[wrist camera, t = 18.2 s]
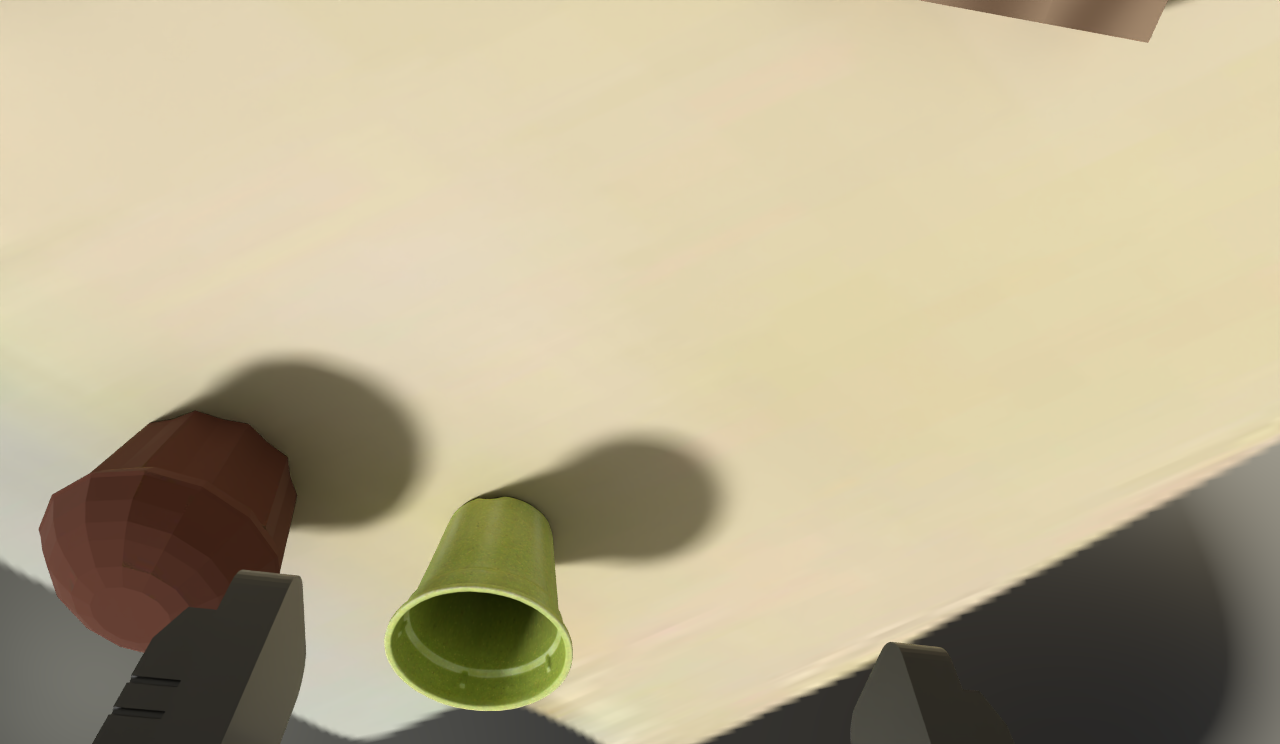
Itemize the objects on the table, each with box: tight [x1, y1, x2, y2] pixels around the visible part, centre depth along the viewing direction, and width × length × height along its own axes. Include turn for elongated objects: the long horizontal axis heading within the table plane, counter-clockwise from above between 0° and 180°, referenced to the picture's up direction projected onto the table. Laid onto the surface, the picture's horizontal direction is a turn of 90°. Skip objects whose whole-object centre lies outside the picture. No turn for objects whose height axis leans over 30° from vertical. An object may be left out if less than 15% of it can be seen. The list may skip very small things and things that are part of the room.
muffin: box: [39, 411, 297, 653], centre depth 45 cm, size 12×11×10 cm
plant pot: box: [384, 497, 573, 711], centre depth 48 cm, size 9×9×9 cm
